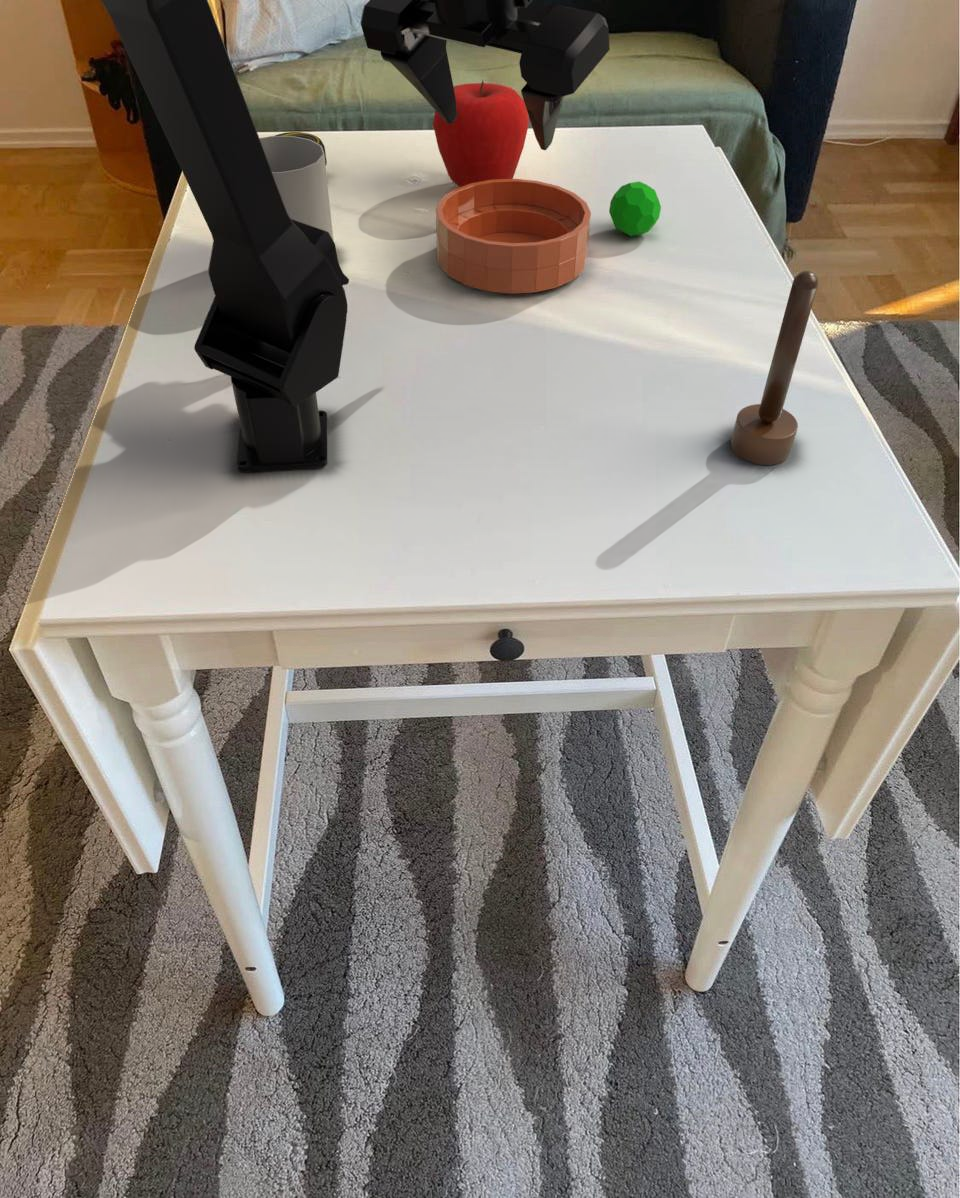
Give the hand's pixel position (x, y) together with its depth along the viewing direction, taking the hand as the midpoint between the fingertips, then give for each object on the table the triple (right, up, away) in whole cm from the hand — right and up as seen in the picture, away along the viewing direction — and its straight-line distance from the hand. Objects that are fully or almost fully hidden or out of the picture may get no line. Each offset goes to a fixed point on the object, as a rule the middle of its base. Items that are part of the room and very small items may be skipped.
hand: (498, 133), depth 77 cm
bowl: (+2, -5, +14) cm, 15 cm away
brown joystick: (+20, -26, -6) cm, 33 cm away
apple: (-1, +7, +26) cm, 27 cm away
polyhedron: (+14, -1, +19) cm, 24 cm away
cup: (-20, -6, +14) cm, 25 cm away
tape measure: (-22, +8, +27) cm, 36 cm away
